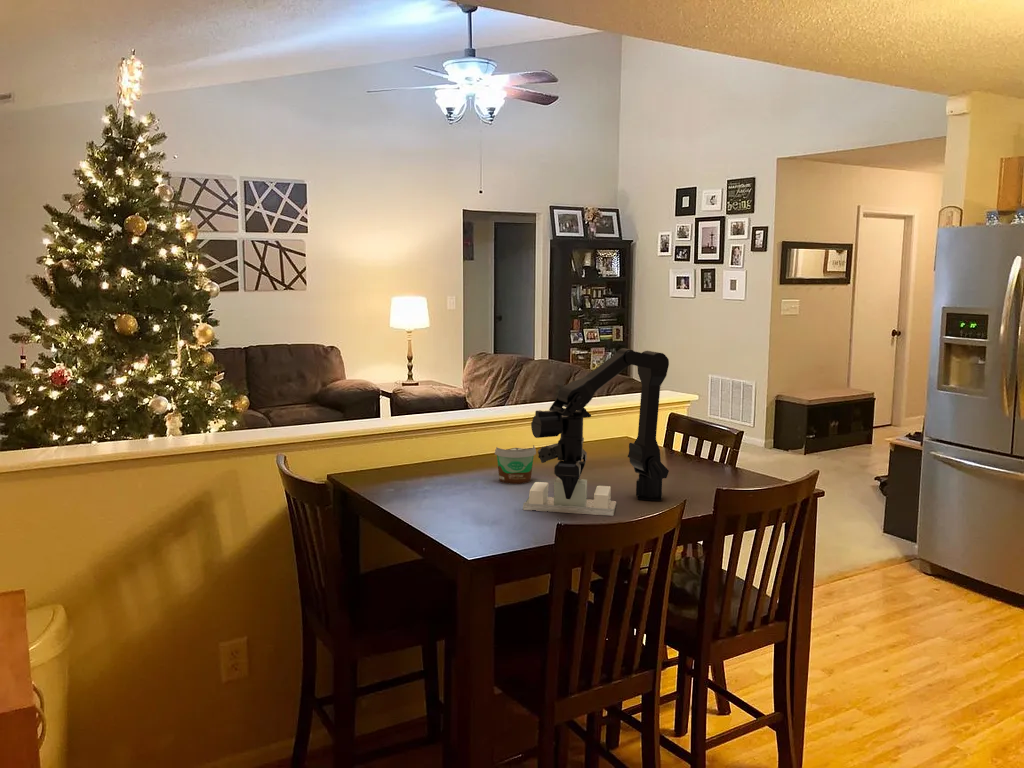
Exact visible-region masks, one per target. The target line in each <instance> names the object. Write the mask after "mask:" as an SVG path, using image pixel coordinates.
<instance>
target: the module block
mask: <svg viewBox="0 0 1024 768" xmlns="http://www.w3.org/2000/svg"><path fill="white" fill-rule="evenodd" d="M553 497H554V505H570V506H585V505H586V502H587V499H588V479H583V478H579V479H578V481H577V484H576V486H575V489H574V491H573V494H572V496H571V499H566V496H565V492H564V487H563V483H562V480H561V479H560V478H559V477H556V478H555V479H554V482H553Z"/></svg>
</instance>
